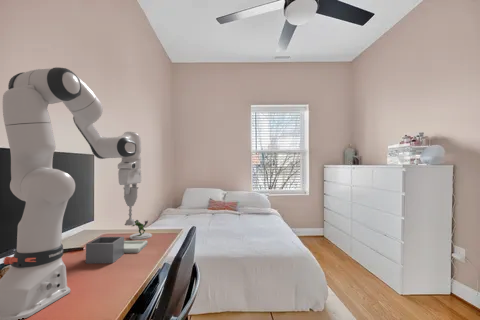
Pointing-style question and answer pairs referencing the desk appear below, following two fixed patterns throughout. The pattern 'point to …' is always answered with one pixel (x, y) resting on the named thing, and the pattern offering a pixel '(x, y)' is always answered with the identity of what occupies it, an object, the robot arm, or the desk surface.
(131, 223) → the chalice
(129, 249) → the tray
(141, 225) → the monster figurine
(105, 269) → the desk surface
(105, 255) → the box
